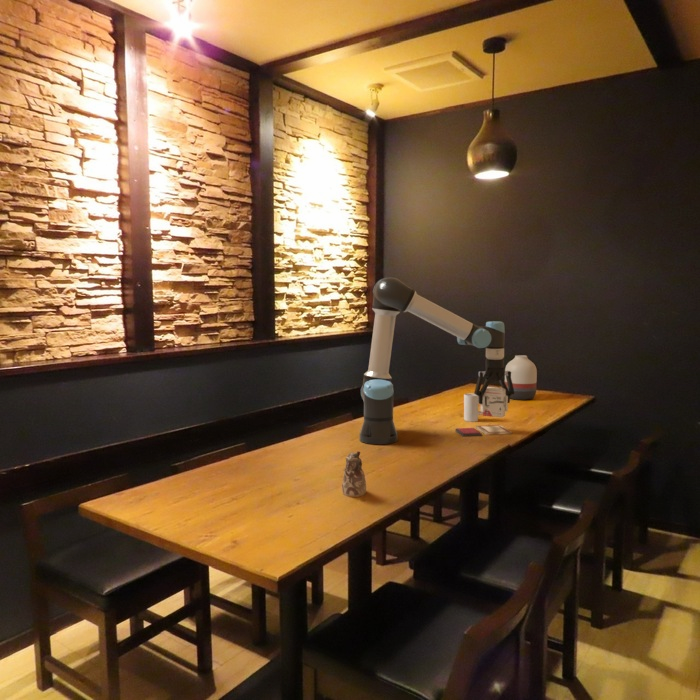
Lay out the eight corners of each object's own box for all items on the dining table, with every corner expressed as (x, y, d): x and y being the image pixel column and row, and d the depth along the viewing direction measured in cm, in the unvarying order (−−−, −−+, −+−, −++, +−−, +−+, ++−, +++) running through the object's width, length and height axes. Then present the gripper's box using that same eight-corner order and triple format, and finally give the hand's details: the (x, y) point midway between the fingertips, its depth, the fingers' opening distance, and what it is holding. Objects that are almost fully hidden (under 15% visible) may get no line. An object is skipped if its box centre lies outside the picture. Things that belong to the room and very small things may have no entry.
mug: (463, 421, 271) (463, 395, 270) (463, 418, 278) (464, 392, 277) (485, 422, 269) (486, 396, 268) (486, 419, 275) (486, 393, 274)
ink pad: (462, 436, 243) (462, 433, 243) (455, 430, 253) (455, 428, 253) (481, 435, 244) (481, 432, 244) (473, 430, 254) (473, 427, 254)
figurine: (336, 492, 175) (336, 452, 174) (354, 487, 180) (353, 448, 179) (354, 498, 170) (354, 457, 169) (371, 492, 175) (371, 452, 174)
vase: (539, 397, 333) (540, 355, 331) (531, 402, 319) (532, 358, 316) (509, 394, 342) (510, 353, 340) (500, 399, 328) (501, 356, 325)
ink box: (482, 416, 252) (482, 388, 251) (485, 414, 256) (485, 386, 255) (502, 418, 248) (503, 389, 247) (505, 415, 252) (506, 388, 251)
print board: (486, 434, 246) (486, 432, 246) (475, 427, 258) (475, 425, 258) (511, 433, 247) (511, 431, 247) (500, 426, 260) (500, 424, 260)
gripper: (472, 359, 245) (471, 413, 247) (523, 358, 247) (522, 412, 250) (466, 358, 252) (465, 410, 254) (516, 356, 255) (515, 408, 257)
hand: (494, 411), depth 252 cm, fingers closed on ink box, 9 cm apart
